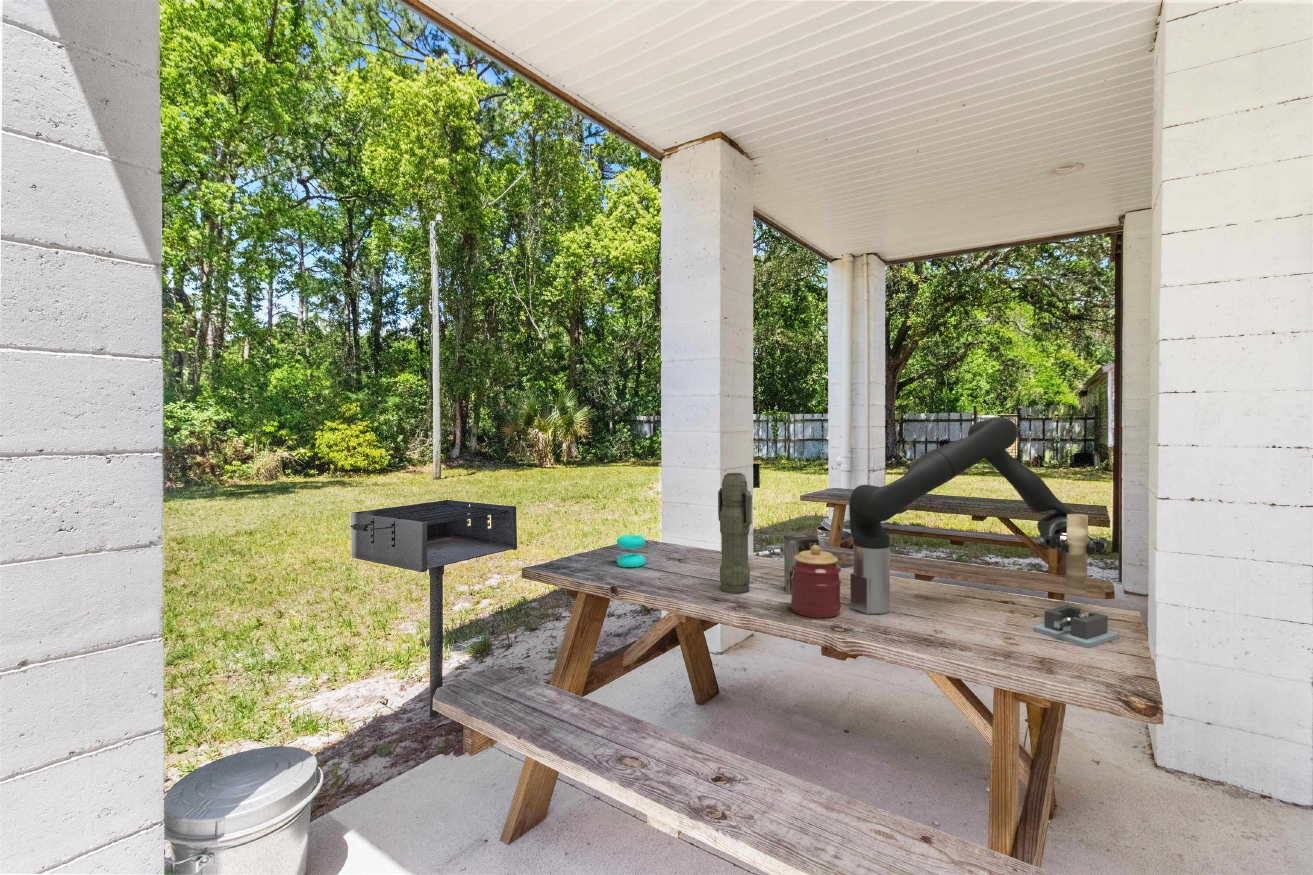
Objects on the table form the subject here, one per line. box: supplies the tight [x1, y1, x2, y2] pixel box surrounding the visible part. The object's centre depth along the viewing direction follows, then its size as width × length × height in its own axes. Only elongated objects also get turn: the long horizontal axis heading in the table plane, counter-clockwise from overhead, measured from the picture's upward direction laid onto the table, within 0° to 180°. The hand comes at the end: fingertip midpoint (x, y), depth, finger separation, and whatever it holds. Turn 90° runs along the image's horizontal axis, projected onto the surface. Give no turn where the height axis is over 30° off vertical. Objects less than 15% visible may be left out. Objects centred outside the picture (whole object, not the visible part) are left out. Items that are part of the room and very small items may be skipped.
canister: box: [790, 545, 842, 619], centre depth 158 cm, size 13×13×18 cm
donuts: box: [616, 534, 646, 568], centre depth 208 cm, size 10×10×10 cm
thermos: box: [717, 472, 753, 595], centre depth 177 cm, size 9×12×35 cm
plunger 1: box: [1054, 617, 1071, 628], centre depth 137 cm, size 6×2×2 cm, turn 117°
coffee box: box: [783, 534, 820, 594], centre depth 176 cm, size 9×6×16 cm
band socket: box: [1032, 604, 1120, 649], centre depth 140 cm, size 13×12×5 cm
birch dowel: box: [1065, 513, 1089, 594], centre depth 139 cm, size 4×4×18 cm
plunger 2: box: [1077, 610, 1097, 619], centre depth 142 cm, size 6×2×2 cm, turn 117°
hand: (1079, 549), depth 137 cm, fingers closed on birch dowel, 4 cm apart
